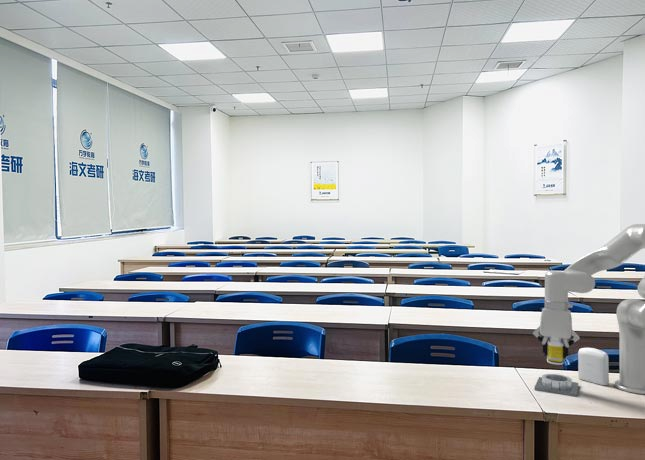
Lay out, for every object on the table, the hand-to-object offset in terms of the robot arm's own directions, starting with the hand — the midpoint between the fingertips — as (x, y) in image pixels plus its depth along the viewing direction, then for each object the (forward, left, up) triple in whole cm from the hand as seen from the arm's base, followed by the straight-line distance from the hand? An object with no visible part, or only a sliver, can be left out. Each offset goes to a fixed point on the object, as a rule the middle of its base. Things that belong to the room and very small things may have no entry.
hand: (555, 355), depth 168 cm
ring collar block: (0, 0, -11) cm, 11 cm away
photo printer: (-11, -14, -12) cm, 22 cm away
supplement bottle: (0, 0, -3) cm, 3 cm away
